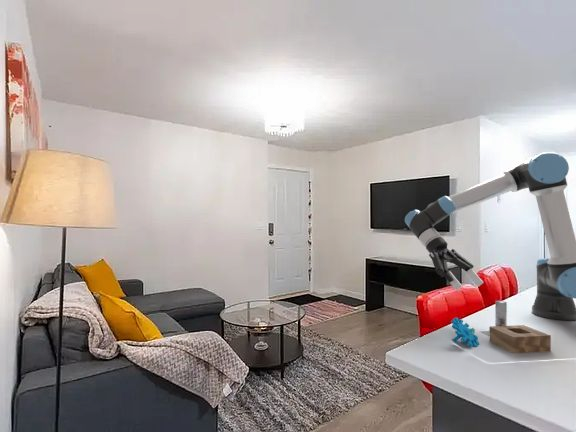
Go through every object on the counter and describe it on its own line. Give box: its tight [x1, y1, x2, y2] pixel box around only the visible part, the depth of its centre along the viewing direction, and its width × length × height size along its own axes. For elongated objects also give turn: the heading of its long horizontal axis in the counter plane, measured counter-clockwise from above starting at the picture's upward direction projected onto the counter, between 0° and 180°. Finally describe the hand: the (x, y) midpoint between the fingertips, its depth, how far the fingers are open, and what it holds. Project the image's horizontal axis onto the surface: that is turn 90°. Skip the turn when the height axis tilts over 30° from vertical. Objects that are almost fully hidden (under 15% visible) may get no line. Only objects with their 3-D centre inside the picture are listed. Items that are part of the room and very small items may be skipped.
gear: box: [450, 317, 480, 348], centre depth 111 cm, size 11×6×10 cm
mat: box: [479, 330, 490, 338], centre depth 117 cm, size 10×8×1 cm
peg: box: [494, 300, 508, 326], centre depth 117 cm, size 3×3×11 cm
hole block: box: [489, 324, 552, 354], centre depth 107 cm, size 12×10×5 cm
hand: (470, 286), depth 126 cm, fingers open, 13 cm apart
